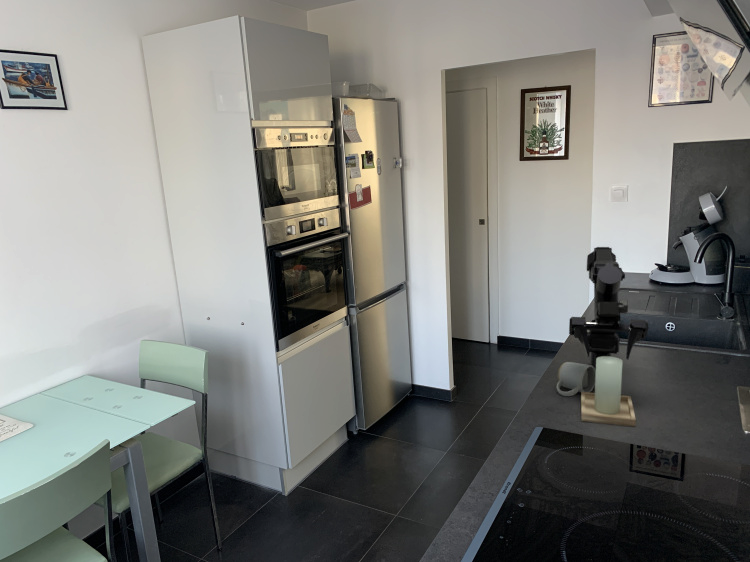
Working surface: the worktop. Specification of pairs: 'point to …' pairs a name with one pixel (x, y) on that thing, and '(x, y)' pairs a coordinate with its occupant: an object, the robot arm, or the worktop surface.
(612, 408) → the pillar candle
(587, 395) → the tray
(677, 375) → the worktop surface
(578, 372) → the ceramic mug
